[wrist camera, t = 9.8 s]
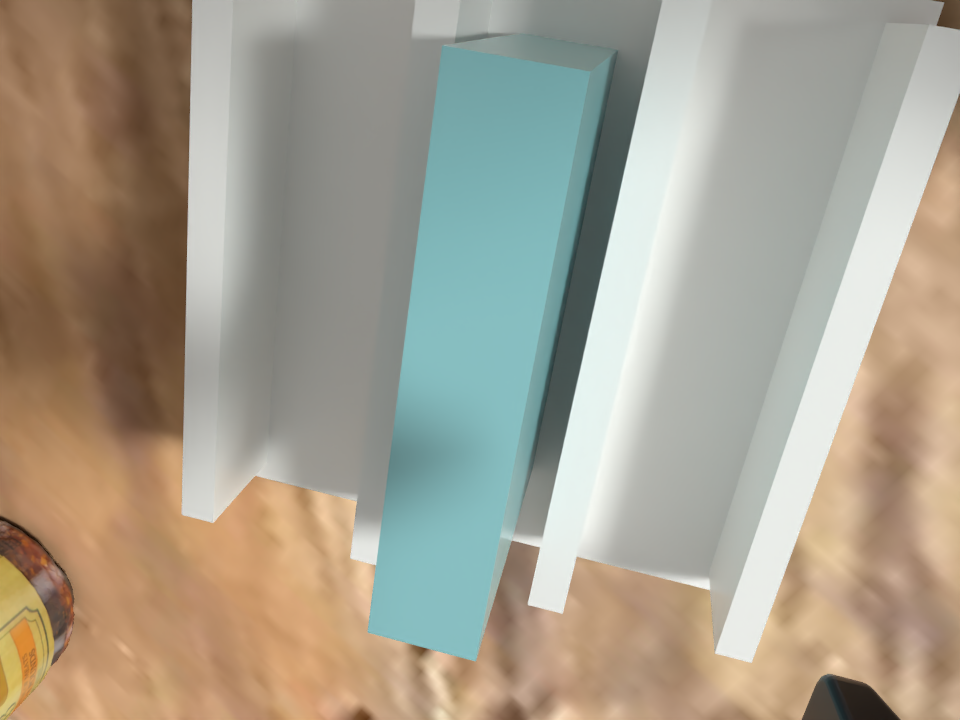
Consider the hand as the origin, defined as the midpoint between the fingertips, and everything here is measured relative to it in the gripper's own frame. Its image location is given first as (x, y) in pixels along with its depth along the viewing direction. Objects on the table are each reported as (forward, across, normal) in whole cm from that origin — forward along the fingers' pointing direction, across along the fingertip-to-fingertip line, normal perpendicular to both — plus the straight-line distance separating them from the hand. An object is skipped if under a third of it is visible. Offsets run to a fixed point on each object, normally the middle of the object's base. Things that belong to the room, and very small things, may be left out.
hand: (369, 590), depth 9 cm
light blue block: (+12, 0, 0) cm, 12 cm away
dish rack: (+13, 0, 0) cm, 13 cm away
